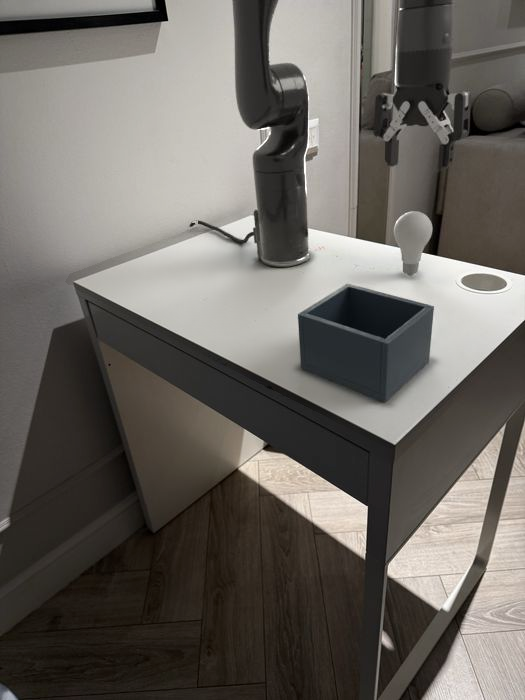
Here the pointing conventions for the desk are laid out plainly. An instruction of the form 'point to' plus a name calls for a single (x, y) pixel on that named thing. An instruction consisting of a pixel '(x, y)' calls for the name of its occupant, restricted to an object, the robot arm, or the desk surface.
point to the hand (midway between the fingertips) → (416, 167)
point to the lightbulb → (412, 238)
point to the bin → (366, 339)
